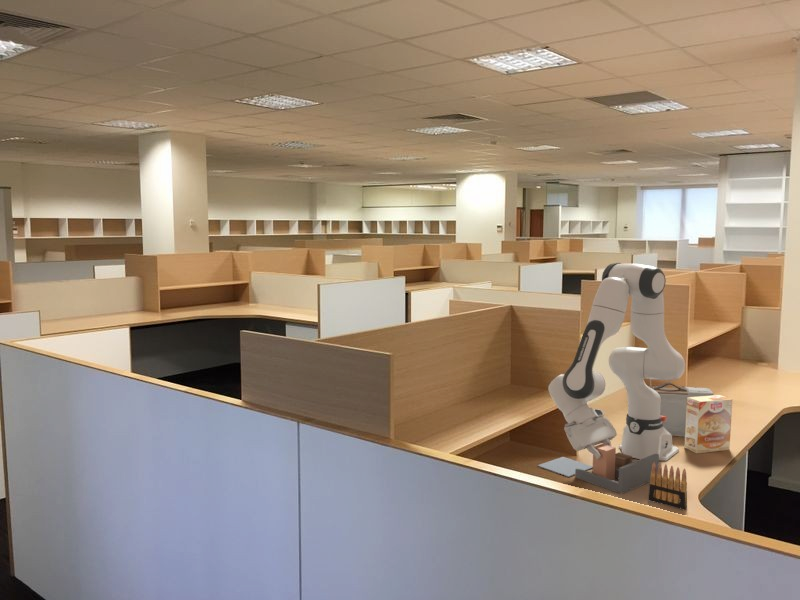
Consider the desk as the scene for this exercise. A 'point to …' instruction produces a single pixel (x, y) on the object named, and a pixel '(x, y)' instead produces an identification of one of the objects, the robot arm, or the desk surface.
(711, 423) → the coffeecake box
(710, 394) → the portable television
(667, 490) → the ammunition clip
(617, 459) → the walnut block
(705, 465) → the desk surface
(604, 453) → the terracotta block
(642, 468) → the lane rack
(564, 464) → the slate mat
